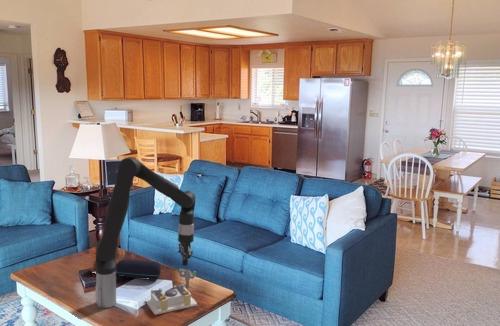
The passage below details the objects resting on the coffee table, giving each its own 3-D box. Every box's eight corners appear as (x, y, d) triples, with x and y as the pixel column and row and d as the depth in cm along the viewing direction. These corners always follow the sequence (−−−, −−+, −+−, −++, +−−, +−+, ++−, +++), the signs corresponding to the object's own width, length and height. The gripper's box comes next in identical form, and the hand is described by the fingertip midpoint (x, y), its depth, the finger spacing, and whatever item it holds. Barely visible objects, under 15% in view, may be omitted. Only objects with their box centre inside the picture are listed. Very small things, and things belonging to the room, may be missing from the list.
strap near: (161, 301, 217) (161, 298, 217) (153, 292, 227) (153, 289, 227) (166, 300, 218) (166, 297, 218) (158, 291, 228) (158, 288, 228)
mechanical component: (195, 290, 242) (195, 272, 241) (177, 287, 244) (177, 270, 243) (196, 287, 245) (197, 270, 243) (179, 285, 247) (179, 268, 245)
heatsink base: (154, 314, 215) (154, 302, 214) (145, 301, 228) (145, 289, 226) (197, 305, 226) (197, 293, 225) (185, 292, 239) (186, 281, 237)
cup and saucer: (88, 269, 262) (88, 259, 261) (109, 266, 267) (109, 256, 266) (90, 277, 251) (90, 267, 250) (112, 274, 257) (112, 264, 255)
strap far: (184, 296, 223) (184, 293, 223) (176, 287, 233) (176, 284, 233) (189, 295, 224) (189, 292, 224) (180, 286, 234) (180, 283, 234)
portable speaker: (163, 275, 259) (163, 259, 257) (158, 283, 249) (158, 266, 247) (121, 272, 261) (121, 255, 259) (114, 279, 251) (114, 262, 249)
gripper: (174, 228, 223) (173, 261, 226) (183, 237, 212) (182, 271, 215) (188, 227, 227) (187, 259, 230) (198, 235, 216) (197, 269, 219)
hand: (185, 265), depth 222 cm, fingers closed
